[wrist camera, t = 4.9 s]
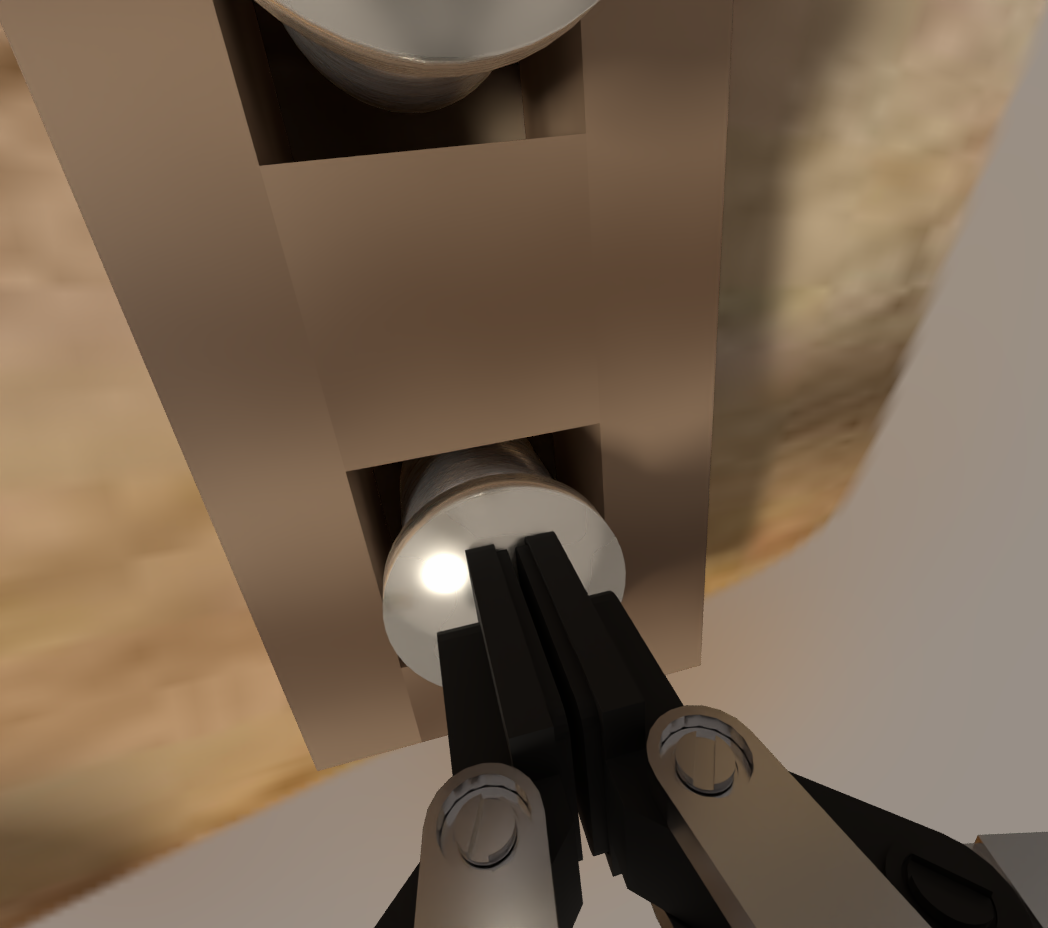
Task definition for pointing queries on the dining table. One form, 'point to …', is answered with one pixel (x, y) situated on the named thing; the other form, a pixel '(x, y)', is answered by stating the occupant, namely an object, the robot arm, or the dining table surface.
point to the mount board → (405, 309)
